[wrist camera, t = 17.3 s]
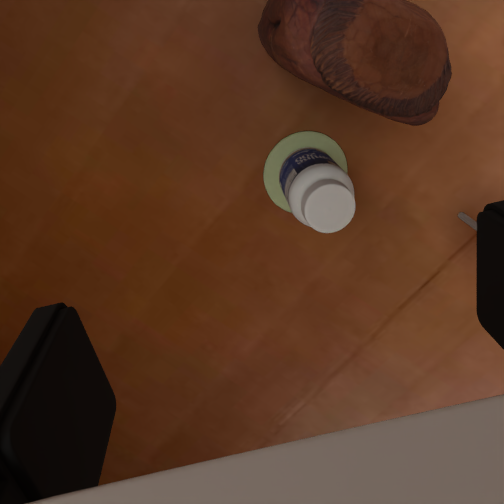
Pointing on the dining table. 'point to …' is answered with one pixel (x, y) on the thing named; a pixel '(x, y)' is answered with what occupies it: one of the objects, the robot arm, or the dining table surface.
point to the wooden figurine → (363, 52)
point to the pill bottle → (317, 190)
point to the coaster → (289, 146)
